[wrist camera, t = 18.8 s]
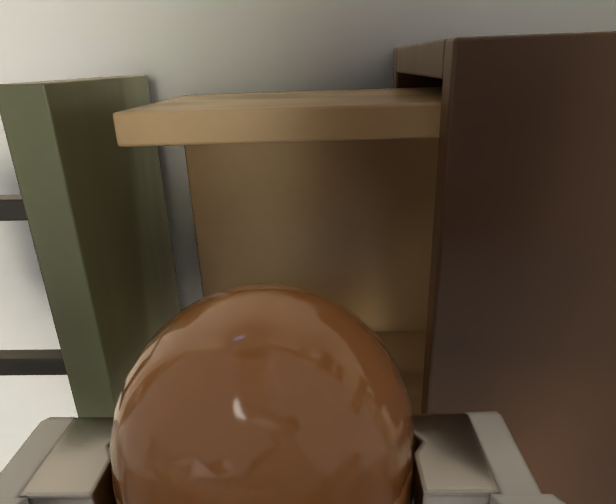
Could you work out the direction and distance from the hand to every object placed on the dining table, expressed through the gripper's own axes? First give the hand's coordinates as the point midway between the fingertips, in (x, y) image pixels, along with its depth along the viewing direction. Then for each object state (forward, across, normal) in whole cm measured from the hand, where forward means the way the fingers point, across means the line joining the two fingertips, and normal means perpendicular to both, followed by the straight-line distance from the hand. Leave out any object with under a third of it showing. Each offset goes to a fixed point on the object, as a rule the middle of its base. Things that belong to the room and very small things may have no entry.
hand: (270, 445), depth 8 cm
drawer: (+12, +2, 0) cm, 12 cm away
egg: (0, 0, 0) cm, 1 cm away
